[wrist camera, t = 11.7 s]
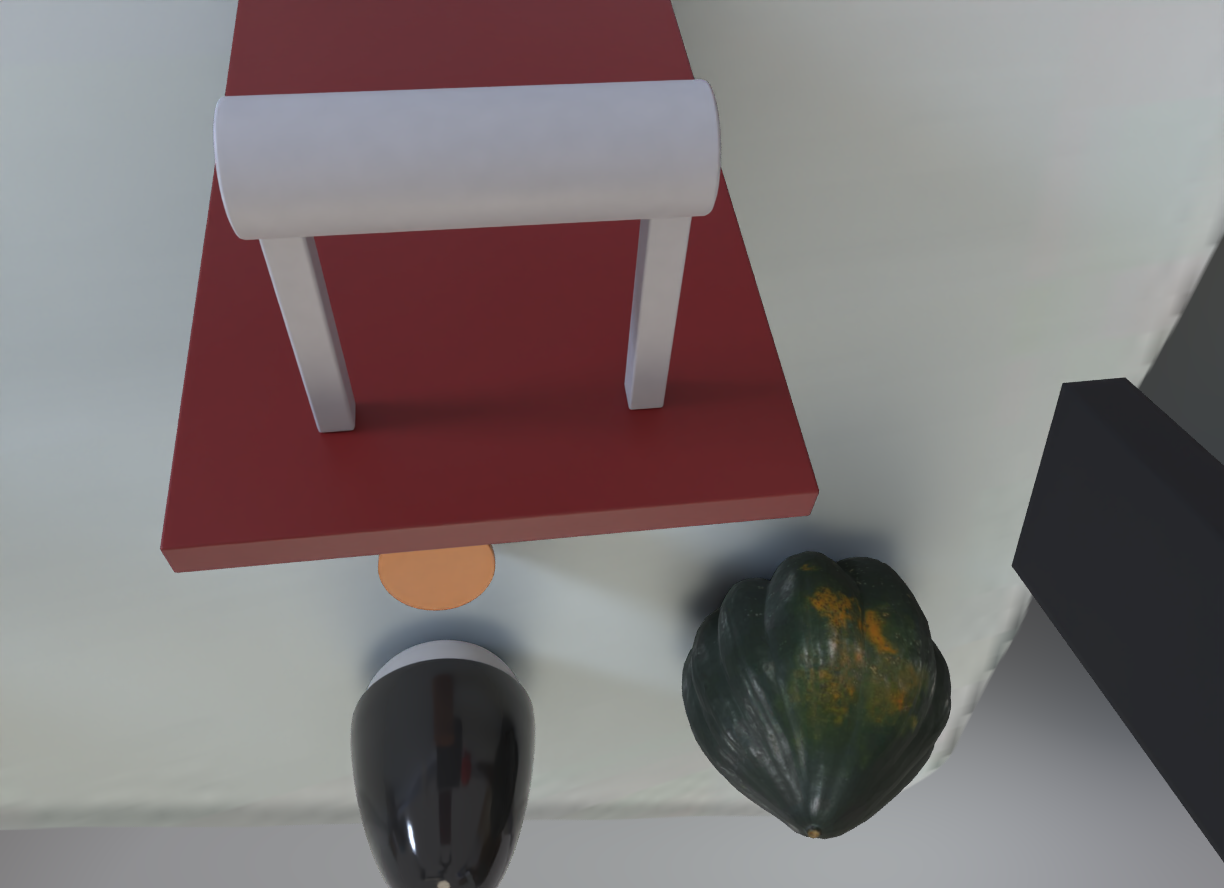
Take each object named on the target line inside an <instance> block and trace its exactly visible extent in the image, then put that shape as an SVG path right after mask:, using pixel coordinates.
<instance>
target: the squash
mask: <svg viewBox="0 0 1224 888" xmlns="http://www.w3.org/2000/svg"><path fill="white" fill-rule="evenodd" d="M682 696H683V701H684V705H685V710H686V714H687V717H688V720H689V723H690V726H691V729H692V732H693V734H694V736H695V739H696V741H697V742H698V744H699V746H700V748H701V749H702V751H703V752H704V754H705V755H706V756H707V758H708V759H709V761H710V762H711V763H712V764H713V765H714V767H715V768H716V769H717V770H718V771H719V772H720V773H721V774H722V775H723V776H724V777H725V778H726V779H727V780H728V781H729V782H730V783H731V784H732V785H733V786H734V787H735V788H736V789H737V790H738V791H740V792H741V793H742V794H743V795H745V796H746V797H747V798H749V799H750V800H751V801H753V802H754V803H756V804H757V805H759V806H760V807H761V808H763V809H764V810H766V811H768V812H769V813H771V814H772V815H774V816H775V817H777V818H778V819H780V820H781V821H782V822H784V823H785V824H786V825H787V826H788V827H790V828H791V829H792V830H793V831H795V832H796V833H799V834H801V835H804V836H806V837H811V838H822V839H827V838H833V837H837V836H840V835H842V834H844V833H846V832H848V831H850V830H852V829H853V828H855V827H856V826H858V825H860V824H861V823H863V822H865V821H867V820H868V819H869V818H871V817H872V816H873V815H874V814H875V813H877V812H878V811H879V810H880V809H881V808H883V807H884V806H885V805H886V804H887V803H888V802H890V801H891V800H892V799H893V798H894V797H895V796H896V795H898V794H899V793H900V792H901V790H902V789H903V788H904V787H906V786H907V785H908V784H909V783H910V782H911V781H912V780H913V779H914V777H915V776H916V775H917V774H918V772H919V771H920V770H921V768H922V767H923V766H924V765H925V763H926V762H927V761H928V759H929V757H930V755H931V753H932V751H933V748H934V744H935V742H936V740H937V739H938V737H939V736H940V734H941V732H942V731H943V729H944V727H945V726H946V723H947V721H948V719H949V715H950V710H951V698H950V696H951V682H950V674H949V670H948V666H947V664H946V661H945V659H944V657H943V655H942V654H941V652H940V650H939V649H938V647H937V646H936V644H935V643H934V642H933V640H932V639H931V634H930V630H929V625H928V621H927V619H926V617H925V615H924V614H923V612H922V610H921V608H920V606H919V604H918V602H917V601H916V599H915V597H914V595H913V594H912V592H911V591H910V589H909V588H908V586H907V585H906V584H905V583H904V581H903V580H902V579H901V578H900V577H899V575H898V574H897V573H896V572H895V571H894V570H893V569H892V568H891V567H889V566H888V565H887V564H885V563H882V562H880V561H878V560H876V559H872V558H868V557H853V558H847V559H843V560H840V561H838V562H834V561H833V560H832V559H830V558H829V557H827V556H825V555H824V554H822V553H819V552H813V551H806V552H803V553H799V554H796V555H793V556H790V557H788V558H787V559H786V560H784V561H783V562H782V563H781V564H780V565H779V566H778V568H777V570H776V571H775V573H774V575H773V577H772V579H771V581H769V580H766V579H763V578H751V579H745V580H743V581H741V582H738V583H736V584H735V585H733V586H732V588H731V589H730V590H729V592H728V593H727V595H726V597H725V598H724V600H723V602H722V605H721V607H720V608H718V609H717V610H716V611H714V612H713V613H712V614H710V615H709V616H708V617H707V618H706V619H705V620H704V621H703V623H702V624H701V626H700V627H699V629H698V631H697V634H696V637H695V640H694V644H693V648H692V649H691V650H690V652H689V654H688V657H687V659H686V661H685V664H684V668H683V674H682Z"/></svg>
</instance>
